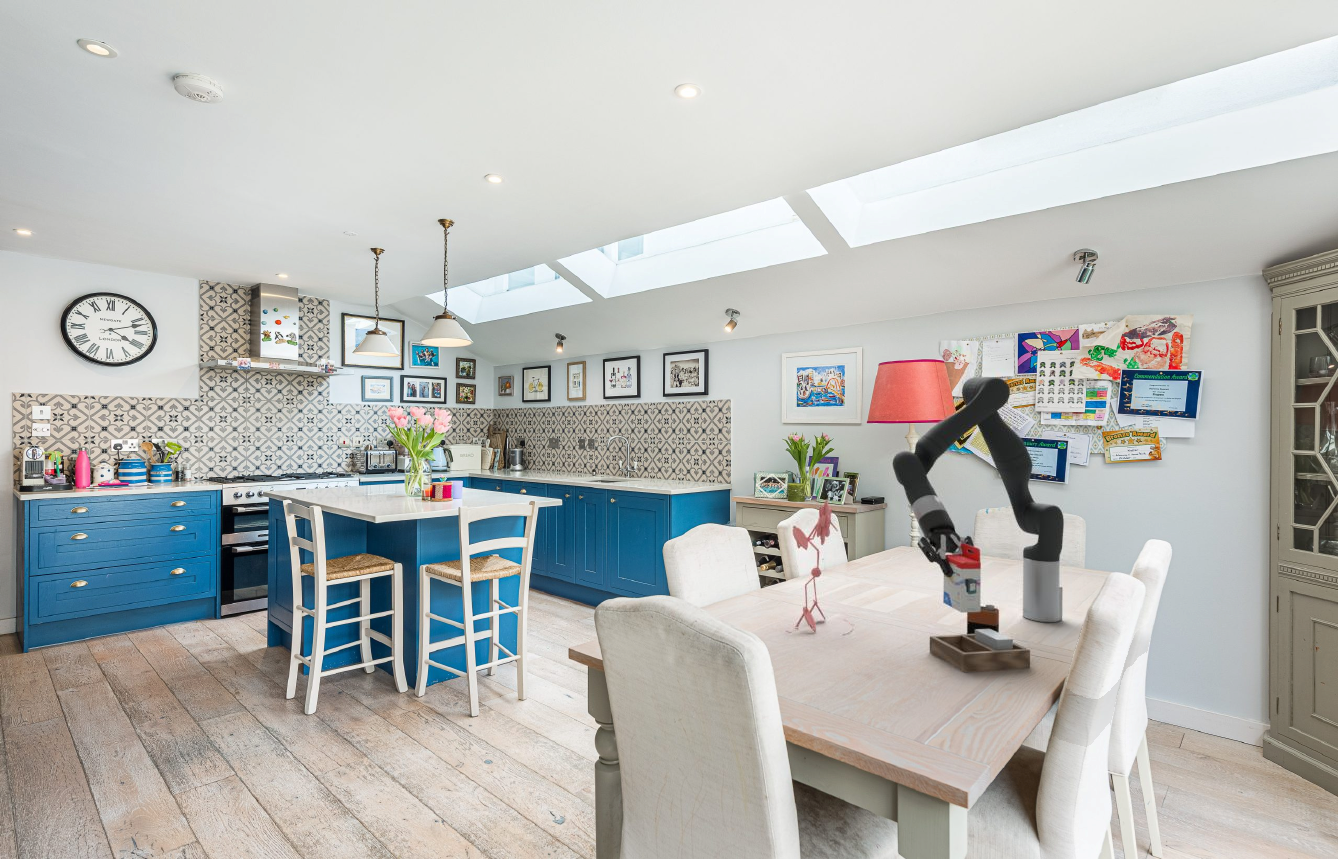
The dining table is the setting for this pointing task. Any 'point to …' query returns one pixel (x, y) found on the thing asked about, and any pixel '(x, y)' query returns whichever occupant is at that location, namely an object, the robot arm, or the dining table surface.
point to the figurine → (802, 540)
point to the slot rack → (977, 654)
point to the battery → (983, 619)
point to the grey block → (993, 639)
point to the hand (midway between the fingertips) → (961, 574)
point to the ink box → (964, 580)
